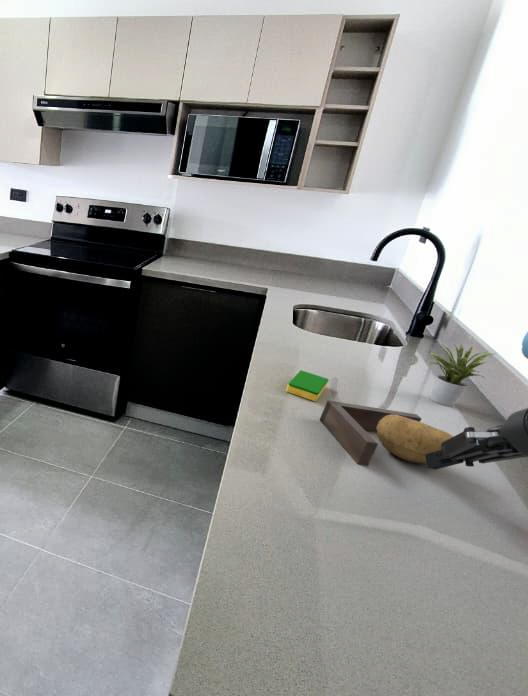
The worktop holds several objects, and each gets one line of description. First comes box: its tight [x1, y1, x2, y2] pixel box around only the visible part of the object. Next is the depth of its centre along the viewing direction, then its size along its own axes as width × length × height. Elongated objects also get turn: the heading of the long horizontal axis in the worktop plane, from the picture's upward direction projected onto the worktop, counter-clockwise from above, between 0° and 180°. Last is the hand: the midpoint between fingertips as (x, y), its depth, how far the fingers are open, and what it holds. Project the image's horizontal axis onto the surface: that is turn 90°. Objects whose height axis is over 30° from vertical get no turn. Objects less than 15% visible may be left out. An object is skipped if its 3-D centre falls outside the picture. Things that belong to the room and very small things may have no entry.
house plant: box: [426, 341, 495, 407], centre depth 131 cm, size 14×14×16 cm
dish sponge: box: [285, 369, 330, 402], centre depth 128 cm, size 7×14×2 cm, turn 143°
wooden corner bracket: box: [319, 399, 422, 466], centre depth 103 cm, size 20×18×5 cm
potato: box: [376, 415, 455, 464], centre depth 99 cm, size 10×14×8 cm
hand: (430, 461), depth 94 cm, fingers closed
